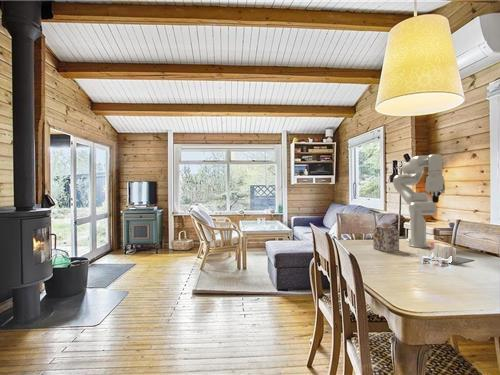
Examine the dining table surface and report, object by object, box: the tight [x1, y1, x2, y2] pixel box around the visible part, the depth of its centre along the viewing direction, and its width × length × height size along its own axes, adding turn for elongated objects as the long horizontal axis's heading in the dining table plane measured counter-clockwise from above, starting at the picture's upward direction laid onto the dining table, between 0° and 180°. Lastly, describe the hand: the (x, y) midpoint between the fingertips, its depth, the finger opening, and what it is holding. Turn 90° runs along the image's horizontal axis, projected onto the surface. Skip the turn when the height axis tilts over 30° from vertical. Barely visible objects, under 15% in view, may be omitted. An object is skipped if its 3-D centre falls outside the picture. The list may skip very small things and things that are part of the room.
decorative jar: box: [372, 222, 400, 253], centre depth 196 cm, size 12×12×18 cm
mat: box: [449, 256, 475, 266], centre depth 167 cm, size 14×20×1 cm
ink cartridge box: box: [430, 242, 457, 262], centre depth 166 cm, size 9×5×15 cm
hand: (435, 202), depth 186 cm, fingers closed
